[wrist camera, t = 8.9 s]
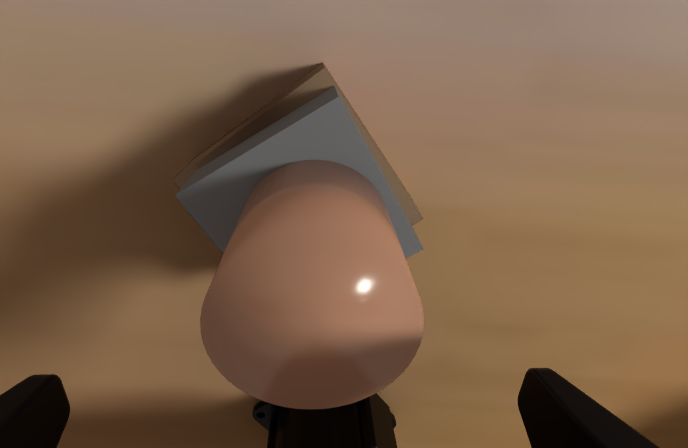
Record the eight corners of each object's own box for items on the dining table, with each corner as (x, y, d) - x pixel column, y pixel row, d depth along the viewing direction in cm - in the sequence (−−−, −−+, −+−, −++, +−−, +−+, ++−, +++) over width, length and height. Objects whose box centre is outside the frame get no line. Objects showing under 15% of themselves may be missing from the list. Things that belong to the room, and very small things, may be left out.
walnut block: (290, 266, 20) (286, 302, 18) (193, 158, 18) (172, 180, 15) (407, 192, 19) (423, 218, 16) (322, 61, 16) (324, 68, 14)
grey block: (284, 284, 17) (280, 322, 15) (195, 170, 15) (174, 195, 13) (408, 219, 16) (423, 249, 14) (334, 86, 14) (338, 96, 12)
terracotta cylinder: (300, 314, 15) (292, 436, 11) (208, 215, 13) (150, 313, 9) (416, 246, 14) (461, 349, 10) (335, 128, 12) (344, 187, 8)
